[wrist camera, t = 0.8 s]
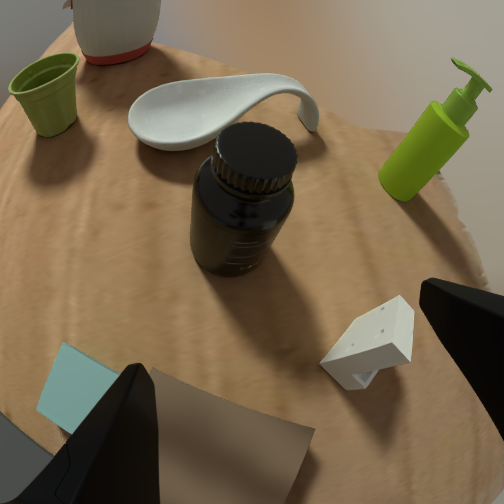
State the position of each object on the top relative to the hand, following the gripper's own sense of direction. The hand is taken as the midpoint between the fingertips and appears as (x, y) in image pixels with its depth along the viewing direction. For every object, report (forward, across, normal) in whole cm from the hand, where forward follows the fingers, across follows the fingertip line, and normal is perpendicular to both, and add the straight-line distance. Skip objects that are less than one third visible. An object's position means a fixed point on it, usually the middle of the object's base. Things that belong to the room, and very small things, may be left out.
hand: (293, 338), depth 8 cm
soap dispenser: (+27, -22, +5) cm, 35 cm away
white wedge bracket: (+11, -7, +14) cm, 19 cm away
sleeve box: (+5, +7, +14) cm, 17 cm away
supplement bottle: (+18, +1, +4) cm, 19 cm away
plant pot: (+31, +20, -14) cm, 39 cm away
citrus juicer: (+47, +14, -27) cm, 55 cm away
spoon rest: (+31, -2, -6) cm, 32 cm away
